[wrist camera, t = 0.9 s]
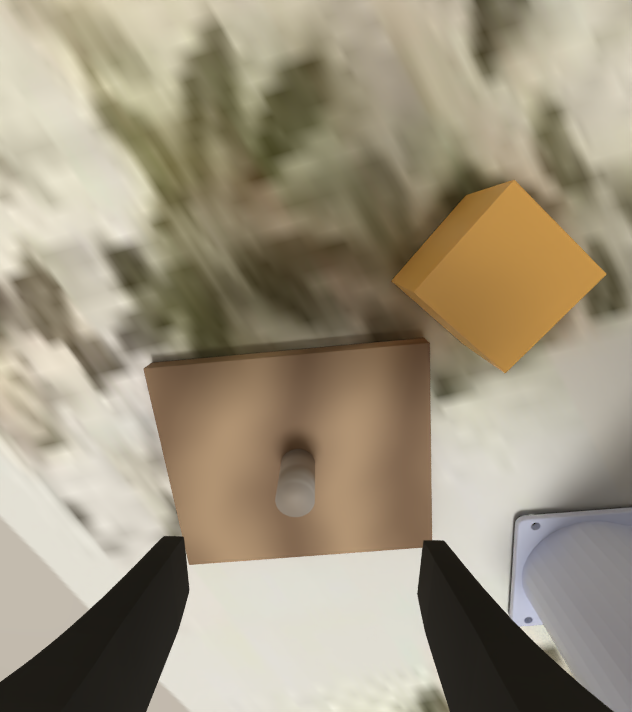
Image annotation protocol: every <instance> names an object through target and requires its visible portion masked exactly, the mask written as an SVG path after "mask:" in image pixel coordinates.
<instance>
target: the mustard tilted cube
mask: <svg viewBox="0 0 632 712" xmlns="http://www.w3.org/2000/svg"><path fill="white" fill-rule="evenodd" d="M605 275H606V273H605V272H604V271H603V270H602V269H601V268H600V267H599V266H598V265H597V264H596V263H595V262H594V261H593V260H592V259H591V258H590V257H589V256H588V255H587V253H586V252H585V251H584V250H583V249H582V248H581V247H580V246H579V245H578V244H577V243H576V242H575V241H574V240H573V239H572V238H571V237H570V236H569V235H568V234H567V233H566V232H565V231H564V230H563V229H562V228H561V227H560V226H559V225H558V224H557V223H556V222H555V221H554V220H553V219H552V218H551V217H550V216H549V215H548V214H547V213H546V212H545V211H544V210H543V209H542V208H541V207H540V206H539V205H538V204H537V203H536V201H535V200H534V199H533V198H532V197H531V196H530V195H529V194H528V193H527V192H526V191H525V190H524V189H523V188H522V187H521V186H520V185H519V184H518V183H517V182H516V181H515V180H512V181H508V182H505V183H502V184H499V185H496V186H493V187H490V188H487V189H484V190H481V191H477V192H474V193H471V194H468V195H466V196H465V197H464V198H463V199H462V200H461V201H460V202H459V204H458V205H457V206H456V207H455V208H454V209H453V211H452V212H451V213H450V214H449V215H448V216H447V217H446V219H445V220H444V221H443V222H442V223H441V224H440V225H439V227H438V228H437V229H436V230H435V231H434V232H433V234H432V235H431V236H430V237H429V238H428V239H427V240H426V242H425V243H424V244H423V245H422V246H421V247H420V248H419V250H418V251H417V252H416V253H415V254H414V255H413V256H412V258H411V259H410V260H409V261H408V262H407V263H406V265H405V266H404V267H403V268H402V269H401V270H400V271H399V273H398V274H397V275H396V276H395V277H394V278H393V279H392V282H393V283H394V284H395V285H396V286H398V287H399V288H400V289H401V290H402V291H403V292H404V293H406V294H407V295H408V296H409V297H410V298H411V299H412V300H414V301H415V302H416V303H417V304H418V305H419V306H420V307H422V308H423V309H424V310H425V311H426V312H427V313H428V314H429V315H431V316H432V317H433V318H434V319H435V320H436V321H437V322H439V323H440V324H441V325H442V326H443V327H444V328H445V329H447V330H448V331H449V332H450V333H451V334H452V335H453V336H455V337H456V338H457V339H458V340H459V341H460V342H461V343H463V344H464V345H465V346H467V347H468V348H469V349H471V350H472V351H474V352H475V353H477V354H478V355H479V356H481V357H482V358H484V359H485V360H487V361H488V362H490V363H491V364H492V365H494V366H495V367H497V368H498V369H500V370H501V371H503V372H504V373H506V372H507V371H508V370H509V369H510V368H511V367H512V366H513V365H514V364H515V363H516V362H517V361H518V360H519V359H520V358H521V357H522V356H523V355H525V354H526V353H527V352H528V351H529V350H530V349H531V348H532V347H533V346H534V345H535V344H536V343H537V342H538V341H539V340H540V339H541V338H542V337H543V336H544V335H545V334H546V333H547V332H548V331H549V330H550V329H551V328H552V327H553V326H554V325H555V324H556V323H557V322H558V321H559V320H560V319H561V318H562V317H563V316H564V315H565V314H566V313H567V312H568V311H569V310H570V309H572V308H573V307H574V306H575V305H576V304H577V303H578V302H579V301H580V300H581V299H582V298H583V297H584V296H585V295H586V294H587V293H588V292H589V291H590V290H591V289H592V288H593V287H594V286H595V285H596V284H597V283H598V282H599V281H600V280H601V279H602V278H603V277H604V276H605Z"/></svg>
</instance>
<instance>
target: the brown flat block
mask: <svg viewBox="0 0 632 712" xmlns="http://www.w3.org/2000/svg"><path fill="white" fill-rule="evenodd" d="M144 373H145V377H146V382H147V386H148V390H149V395H150V399H151V403H152V407H153V412H154V416H155V420H156V425H157V429H158V433H159V438H160V442H161V446H162V450H163V455H164V459H165V463H166V468H167V472H168V476H169V481H170V485H171V489H172V493H173V498H174V502H175V506H176V511H177V515H178V519H179V524H180V528H181V532H182V536H183V537H184V541H185V549H186V554H187V558H188V562H189V565H194V564H207V563H221V562H234V561H248V560H261V559H275V558H288V557H301V556H315V555H328V554H342V553H355V552H369V551H382V550H396V549H409V548H423V540H432V498H431V417H430V343H429V342H428V341H427V340H426V339H425V338H418V339H407V340H396V341H385V342H374V343H363V344H352V345H341V346H330V347H319V348H308V349H297V350H286V351H275V352H264V353H253V354H242V355H231V356H220V357H209V358H198V359H187V360H176V361H165V362H154V363H151V364H149V365H148V366H147V367H145V368H144Z"/></svg>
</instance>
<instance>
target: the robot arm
mask: <svg viewBox="0 0 632 712" xmlns="http://www.w3.org/2000/svg"><path fill="white" fill-rule="evenodd" d="M533 523H536V524H534V525H532V524H533ZM188 594H189V581H188V571H187V561H186V551H185V541H184V537H180V536H164V537H163V538H161V539H160V540H159V541H158V542H157V543H156V544H155V545H154V546H153V547H152V548H151V550H150V551H149V552H148V553H147V554H146V555H145V556H144V557H143V558H142V559H141V560H140V561H139V562H138V563H137V564H136V565H135V566H134V567H133V568H132V569H131V570H130V571H129V572H128V573H127V574H126V575H125V576H124V577H123V578H122V579H121V580H120V581H119V582H118V583H117V584H116V585H115V586H114V587H113V588H112V589H111V590H110V591H109V592H108V593H107V594H106V595H105V596H104V597H103V598H102V599H100V600H99V601H98V602H97V603H96V604H95V605H94V606H93V607H92V608H91V609H90V610H88V611H87V612H86V613H85V614H84V615H83V616H82V617H81V618H80V619H79V620H77V621H76V622H75V623H74V624H73V625H72V626H71V627H70V628H68V629H67V630H66V631H65V632H64V633H63V634H62V635H60V636H59V637H58V638H57V639H56V640H54V641H53V642H52V643H51V644H50V645H48V646H47V647H46V648H45V649H43V650H42V651H41V652H40V653H38V654H37V655H36V656H35V657H33V658H32V659H31V660H29V661H28V662H27V663H26V664H24V665H23V666H22V667H20V668H19V669H17V670H16V671H15V672H13V673H12V674H11V675H9V676H8V677H6V678H5V679H4V680H2V681H1V682H0V712H146V711H147V708H148V706H149V703H150V700H151V698H152V695H153V693H154V690H155V688H156V685H157V683H158V680H159V678H160V675H161V673H162V670H163V668H164V665H165V663H166V660H167V658H168V655H169V653H170V650H171V647H172V645H173V642H174V640H175V637H176V635H177V632H178V629H179V626H180V623H181V619H182V616H183V612H184V609H185V605H186V601H187V598H188ZM417 595H418V600H419V605H420V610H421V615H422V619H423V624H424V629H425V633H426V636H427V640H428V643H429V646H430V649H431V653H432V656H433V659H434V662H435V666H436V669H437V672H438V675H439V678H440V681H441V684H442V688H443V691H444V694H445V697H446V700H447V703H448V707H449V710H450V712H632V507H630V508H617V509H604V510H591V511H578V512H565V513H551V514H538V515H525V516H521V517H519V518H518V519H517V520H516V522H515V533H514V549H513V566H512V582H511V599H510V615H509V616H510V617H509V616H508V615H507V614H506V613H505V612H504V610H503V609H502V608H501V607H500V606H499V605H498V604H497V603H496V602H495V600H494V599H493V598H492V597H491V596H490V595H489V594H488V593H487V591H486V590H485V589H484V588H483V587H482V586H481V585H480V583H479V582H478V581H477V580H476V579H475V578H474V576H473V575H472V574H471V573H470V572H469V570H468V569H467V568H466V567H465V566H464V564H463V563H462V562H461V561H460V559H459V558H458V557H457V556H456V555H455V553H454V552H453V551H452V550H451V548H450V547H449V546H448V545H447V544H446V542H445V541H440V540H423V548H422V557H421V566H420V575H419V584H418V593H417ZM531 625H544V627H545V628H546V630H547V632H548V633H549V635H550V637H551V638H552V640H553V642H554V643H555V645H556V647H557V649H558V650H559V652H560V654H561V655H562V657H563V659H564V660H565V662H566V664H567V665H568V667H569V669H570V670H571V672H572V674H573V676H574V677H575V679H576V680H575V679H574V678H573V677H571V676H570V675H569V674H568V673H567V672H566V671H565V670H564V669H562V668H561V667H560V666H559V665H558V664H557V663H556V662H555V661H554V660H553V659H552V658H550V657H549V656H548V655H547V654H546V653H545V652H544V651H543V650H542V649H541V648H540V647H539V646H538V645H537V644H536V643H535V642H534V641H533V640H531V639H530V638H529V637H528V636H527V635H526V633H525V632H524V631H523V630H522V629H521V628H520V627H519V626H531Z"/></svg>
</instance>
